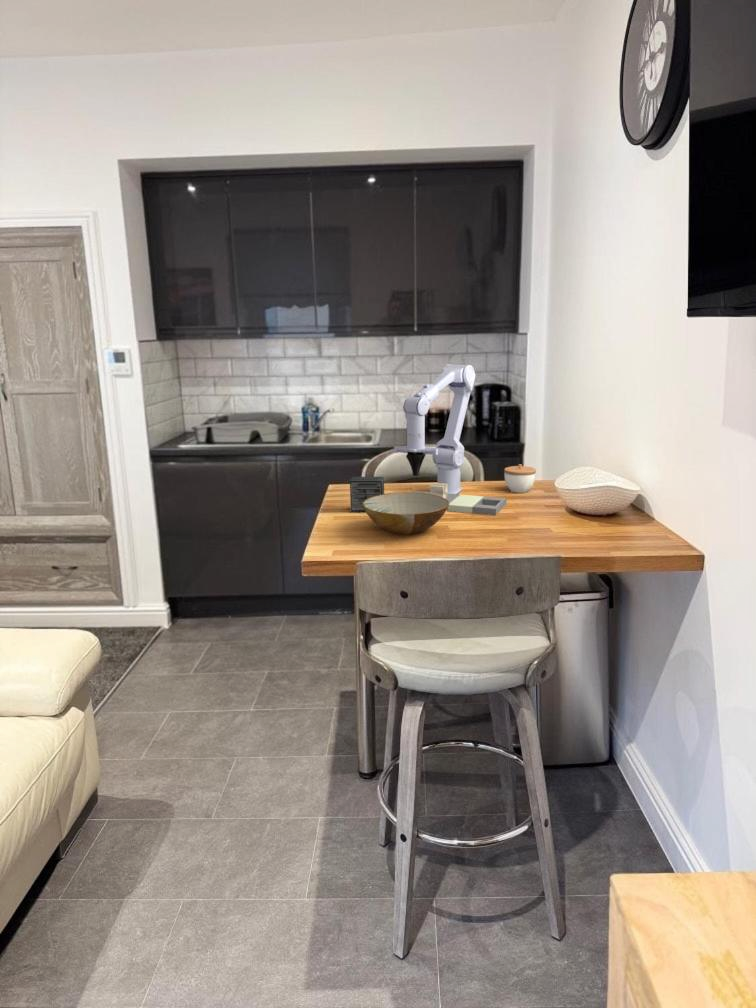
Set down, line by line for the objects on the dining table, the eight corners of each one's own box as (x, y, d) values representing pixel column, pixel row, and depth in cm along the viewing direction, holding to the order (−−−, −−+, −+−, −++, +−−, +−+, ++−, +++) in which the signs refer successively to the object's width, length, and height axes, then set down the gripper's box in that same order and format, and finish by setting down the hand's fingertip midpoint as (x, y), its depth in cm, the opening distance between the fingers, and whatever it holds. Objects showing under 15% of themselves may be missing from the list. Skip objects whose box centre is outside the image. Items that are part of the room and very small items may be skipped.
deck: (413, 496, 247) (413, 490, 247) (506, 504, 235) (506, 498, 235) (399, 506, 235) (398, 500, 234) (495, 515, 223) (496, 508, 222)
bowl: (459, 538, 200) (459, 511, 198) (369, 545, 196) (369, 516, 194) (437, 515, 224) (437, 490, 222) (357, 520, 220) (356, 494, 218)
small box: (385, 507, 234) (384, 475, 232) (383, 512, 228) (382, 480, 225) (352, 507, 235) (352, 475, 233) (350, 512, 229) (349, 480, 227)
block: (434, 496, 239) (434, 482, 238) (447, 497, 238) (447, 483, 236) (429, 499, 235) (429, 485, 234) (443, 500, 234) (443, 486, 232)
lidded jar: (497, 489, 256) (498, 463, 253) (522, 486, 260) (523, 460, 258) (515, 495, 246) (516, 468, 244) (541, 492, 251) (542, 465, 248)
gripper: (390, 435, 233) (391, 476, 237) (433, 437, 228) (433, 479, 231) (398, 431, 240) (398, 471, 243) (440, 433, 234) (440, 474, 238)
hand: (416, 475), depth 238 cm, fingers closed
